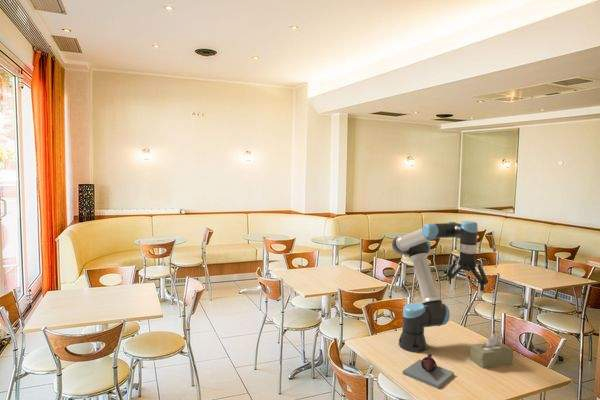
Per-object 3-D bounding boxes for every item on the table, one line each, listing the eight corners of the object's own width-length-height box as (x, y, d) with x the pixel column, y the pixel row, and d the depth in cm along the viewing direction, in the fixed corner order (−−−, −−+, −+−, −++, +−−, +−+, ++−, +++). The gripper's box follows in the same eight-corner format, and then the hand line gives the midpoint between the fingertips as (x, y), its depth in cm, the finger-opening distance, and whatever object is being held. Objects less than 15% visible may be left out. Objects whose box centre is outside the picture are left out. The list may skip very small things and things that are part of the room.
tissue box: (482, 368, 200) (484, 338, 199) (469, 359, 209) (470, 330, 208) (513, 364, 205) (515, 334, 204) (499, 356, 214) (500, 327, 213)
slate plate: (402, 373, 193) (402, 370, 193) (419, 362, 206) (419, 359, 205) (438, 388, 181) (438, 385, 181) (454, 375, 193) (454, 372, 193)
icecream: (439, 366, 185) (438, 355, 200) (423, 359, 187) (423, 349, 202) (434, 380, 186) (434, 367, 200) (418, 373, 188) (419, 361, 202)
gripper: (440, 249, 206) (438, 289, 208) (491, 257, 189) (488, 301, 190) (447, 247, 211) (445, 286, 213) (496, 255, 194) (494, 297, 196)
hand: (465, 293), depth 202 cm, fingers open, 13 cm apart
